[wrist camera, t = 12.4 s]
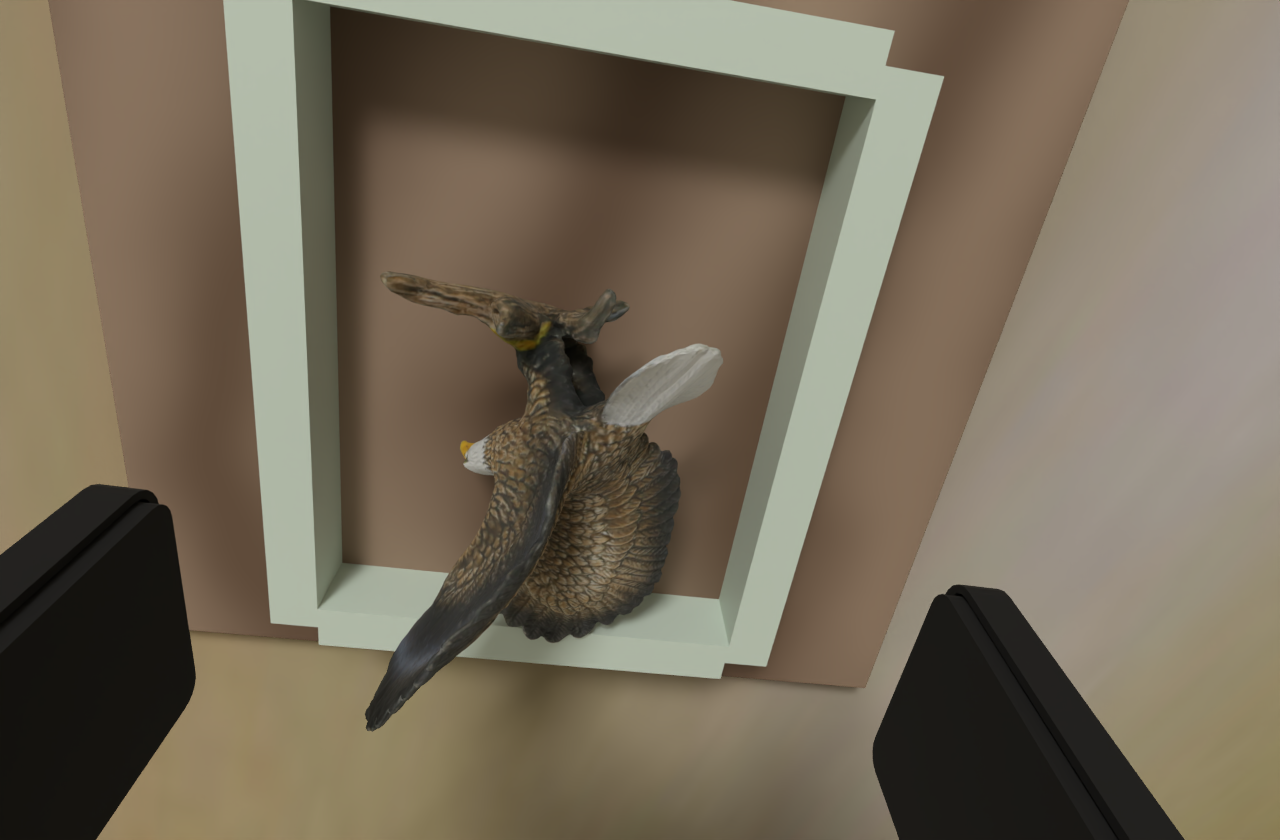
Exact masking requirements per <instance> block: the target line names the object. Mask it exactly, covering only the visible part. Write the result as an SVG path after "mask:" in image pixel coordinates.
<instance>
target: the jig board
mask: <svg viewBox="0 0 1280 840" xmlns="http://www.w3.org/2000/svg"><path fill="white" fill-rule="evenodd" d="M48 2H49V8H50V14H51V20H52V26H53V32H54V38H55V44H56V50H57V56H58V62H59V68H60V74H61V80H62V86H63V92H64V98H65V105H66V111H67V117H68V123H69V129H70V135H71V141H72V147H73V153H74V159H75V165H76V171H77V177H78V183H79V189H80V195H81V201H82V207H83V213H84V219H85V226H86V232H87V238H88V244H89V250H90V256H91V262H92V268H93V274H94V280H95V286H96V292H97V298H98V304H99V310H100V316H101V322H102V328H103V334H104V341H105V347H106V353H107V359H108V365H109V371H110V377H111V383H112V389H113V395H114V401H115V407H116V413H117V419H118V425H119V431H120V437H121V443H122V449H123V456H124V462H125V468H126V474H127V480H128V486H129V488H136V489H144V490H149V491H151V492H153V493H154V495H155V496H156V497H157V499H158V502H159V504H163V505H166V506H168V508H169V509H170V510H171V514H172V518H173V525H174V532H175V538H176V545H177V552H178V558H179V565H180V572H181V579H182V585H183V592H184V599H185V605H186V612H187V619H188V625H189V630H195V631H207V632H218V633H230V634H242V635H253V636H265V637H276V638H288V639H300V640H311V641H319V645H328V646H340V647H351V648H363V649H375V650H386V651H396V649H397V647H398V646H399V644H400V642H401V641H402V640H403V638H404V637H405V636H406V635H407V633H408V632H409V631H410V629H411V628H412V627H413V625H414V624H415V623H416V622H417V620H418V619H419V618H420V617H421V616H422V615H423V613H424V612H425V611H426V610H427V609H428V608H429V607H430V606H431V605H432V604H433V602H434V600H435V598H436V597H437V595H438V593H439V591H440V589H441V587H442V585H443V583H444V581H445V579H446V577H447V576H448V574H449V572H450V571H451V569H452V567H453V566H454V565H455V564H456V562H457V561H458V559H459V558H460V557H461V555H462V554H463V553H464V552H465V550H466V549H467V548H468V547H469V545H470V544H471V542H472V541H473V539H474V538H475V536H476V534H477V532H478V531H479V529H480V527H481V524H482V522H483V520H484V518H485V515H486V513H487V510H488V508H489V503H490V500H491V497H492V494H493V490H494V486H495V478H494V475H483V474H479V473H475V472H473V471H470V470H469V469H467V468H466V467H465V466H464V464H463V463H464V461H465V458H464V456H463V454H462V452H461V450H460V445H461V442H462V441H467V442H468V443H476V442H478V441H480V440H482V439H484V438H485V437H486V436H488V435H489V434H490V433H492V432H493V431H495V429H496V428H497V427H499V426H501V425H503V424H505V423H507V422H509V421H511V420H514V419H517V418H521V417H523V415H524V414H525V409H526V405H527V390H528V383H527V379H526V378H525V377H524V375H523V374H522V372H521V371H520V370H519V368H518V366H517V357H516V351H515V348H514V347H513V346H511V345H510V344H508V343H506V342H504V341H503V340H502V339H501V338H500V337H499V336H497V335H496V334H495V333H494V332H493V331H492V330H491V329H490V328H489V327H488V326H487V325H486V324H484V323H482V322H481V321H480V320H478V319H477V318H475V317H472V316H468V315H455V314H453V313H450V312H448V311H446V310H443V309H440V308H433V307H430V306H424V305H420V304H416V303H413V302H411V301H408V300H406V299H405V298H403V297H401V296H399V295H397V294H395V293H392V292H391V291H390V290H389V289H387V288H386V287H385V286H384V284H383V283H382V281H381V279H380V275H381V274H382V273H383V272H386V271H391V272H397V273H404V274H410V275H416V276H420V277H423V278H427V279H431V280H436V281H441V282H447V283H453V284H461V285H468V286H473V287H479V288H486V289H491V290H495V291H499V292H503V293H506V294H510V295H513V296H516V297H519V298H522V299H526V300H530V301H536V302H540V303H545V304H549V305H552V306H555V307H557V308H560V309H563V310H566V311H573V310H577V309H584V308H586V307H588V306H594V305H595V303H596V302H597V300H598V299H599V297H600V296H601V295H602V294H603V292H604V291H605V290H606V289H612V290H613V291H614V292H615V294H616V300H621V301H624V302H626V303H628V304H629V305H630V308H629V310H628V311H627V312H626V313H625V314H624V315H623V316H621V317H620V318H619V319H617V320H615V321H613V322H606V323H604V325H603V326H602V328H601V330H600V333H599V337H598V339H597V341H596V342H594V343H592V344H585V343H581V342H578V343H579V344H582V345H585V346H586V350H587V355H588V356H589V357H591V358H592V360H593V372H594V374H595V377H596V380H597V383H598V385H599V387H600V390H601V391H602V392H603V393H604V394H605V400H606V399H608V398H609V397H610V395H611V393H612V392H613V391H614V390H615V389H616V388H617V387H618V386H619V385H620V384H621V383H622V382H623V381H624V380H625V379H626V378H628V377H629V376H630V375H632V374H633V373H634V372H636V371H637V370H638V369H640V368H641V367H642V366H644V365H645V364H647V363H648V362H650V361H651V360H653V359H654V358H656V357H658V356H661V355H666V354H669V353H671V352H673V351H675V350H678V349H683V348H686V347H688V346H690V345H693V344H703V345H707V346H709V347H713V348H717V349H719V350H720V351H721V357H722V358H723V364H722V365H721V366H720V367H719V369H718V371H717V375H716V377H715V379H714V382H713V384H712V386H711V387H710V388H709V389H708V390H707V391H705V392H704V393H702V394H701V395H700V396H698V397H697V398H694V399H692V400H689V401H686V402H684V403H680V404H677V405H675V406H672V407H670V408H668V409H666V410H664V411H662V412H660V413H659V414H658V415H656V416H655V417H654V418H653V419H652V420H651V421H650V422H649V424H648V426H647V427H646V429H645V431H644V433H646V434H647V436H648V438H649V443H651V442H655V443H657V444H658V445H659V447H660V449H661V451H664V450H669V451H670V452H671V454H672V458H675V459H676V460H677V462H678V468H677V474H678V475H679V477H680V482H681V483H680V490H681V497H680V499H679V502H678V504H679V507H678V510H677V512H676V513H675V515H674V516H673V519H674V527H673V530H672V532H671V539H670V542H669V544H668V545H666V547H667V549H668V555H667V557H666V559H665V564H664V566H663V567H662V568H661V572H662V575H661V578H660V580H659V582H657V583H655V585H654V589H653V591H652V593H651V594H650V595H647V596H645V597H644V599H643V601H642V602H641V604H640V605H639V606H637V607H635V608H633V610H632V612H631V613H629V614H626V615H617V617H616V618H615V619H614V621H613V623H611V624H609V625H603V624H601V623H600V622H597V623H596V624H595V626H594V628H593V629H592V630H591V631H590V632H589V633H588V634H587V635H586V636H584V637H582V638H575V637H573V636H572V635H568V636H566V637H565V638H563V639H562V640H561V641H560V642H556V643H550V642H547V641H546V640H545V638H543V637H542V636H541V637H539V638H538V639H535V640H530V639H528V638H527V637H526V636H525V634H524V633H523V628H522V626H520V627H509V626H508V625H507V624H506V622H505V619H504V616H503V614H499V615H498V616H497V618H496V619H495V621H494V622H493V623H492V624H491V625H490V627H489V628H488V629H487V630H485V631H484V632H483V633H482V634H481V636H480V637H479V638H478V639H477V640H476V641H475V642H473V643H472V644H471V645H470V646H469V647H468V648H466V649H465V650H463V651H462V652H461V653H460V654H459V655H457V657H468V658H480V659H492V660H504V661H515V662H527V663H539V664H550V665H562V666H574V667H586V668H597V669H609V670H621V671H632V672H644V673H656V674H667V675H679V676H691V677H703V678H714V679H720V678H721V676H731V677H742V678H754V679H765V680H777V681H789V682H800V683H812V684H824V685H835V686H847V687H859V688H865V687H866V684H867V682H868V679H869V677H870V674H871V671H872V669H873V666H874V664H875V661H876V658H877V656H878V653H879V650H880V648H881V645H882V643H883V640H884V637H885V635H886V632H887V630H888V627H889V624H890V622H891V619H892V617H893V614H894V611H895V609H896V606H897V604H898V601H899V598H900V596H901V593H902V591H903V588H904V585H905V583H906V580H907V578H908V575H909V572H910V570H911V567H912V565H913V562H914V559H915V557H916V554H917V552H918V549H919V546H920V544H921V541H922V538H923V536H924V533H925V531H926V528H927V525H928V523H929V520H930V518H931V515H932V512H933V510H934V507H935V505H936V502H937V499H938V497H939V494H940V492H941V489H942V486H943V484H944V481H945V479H946V476H947V473H948V471H949V468H950V466H951V463H952V460H953V458H954V455H955V453H956V450H957V447H958V445H959V442H960V440H961V437H962V434H963V432H964V429H965V426H966V424H967V421H968V419H969V416H970V413H971V411H972V408H973V406H974V403H975V400H976V398H977V395H978V393H979V390H980V387H981V385H982V382H983V380H984V377H985V374H986V372H987V369H988V367H989V364H990V361H991V359H992V356H993V354H994V351H995V348H996V346H997V343H998V341H999V338H1000V335H1001V333H1002V330H1003V328H1004V325H1005V322H1006V320H1007V317H1008V314H1009V312H1010V309H1011V307H1012V304H1013V301H1014V299H1015V296H1016V294H1017V291H1018V288H1019V286H1020V283H1021V281H1022V278H1023V275H1024V273H1025V270H1026V268H1027V265H1028V262H1029V260H1030V257H1031V255H1032V252H1033V249H1034V247H1035V244H1036V242H1037V239H1038V236H1039V234H1040V231H1041V229H1042V226H1043V223H1044V221H1045V218H1046V216H1047V213H1048V210H1049V208H1050V205H1051V202H1052V200H1053V197H1054V195H1055V192H1056V189H1057V187H1058V184H1059V182H1060V179H1061V176H1062V174H1063V171H1064V169H1065V166H1066V163H1067V161H1068V158H1069V156H1070V153H1071V150H1072V148H1073V145H1074V143H1075V140H1076V137H1077V135H1078V132H1079V130H1080V127H1081V124H1082V122H1083V119H1084V117H1085V114H1086V111H1087V109H1088V106H1089V104H1090V101H1091V98H1092V96H1093V93H1094V90H1095V88H1096V85H1097V83H1098V80H1099V77H1100V75H1101V72H1102V70H1103V67H1104V64H1105V62H1106V59H1107V57H1108V54H1109V51H1110V49H1111V46H1112V44H1113V41H1114V38H1115V36H1116V33H1117V31H1118V28H1119V25H1120V23H1121V20H1122V18H1123V15H1124V12H1125V10H1126V7H1127V5H1128V2H1129V0H48Z"/></svg>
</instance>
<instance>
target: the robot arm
mask: <svg viewBox="0 0 1280 840" xmlns="http://www.w3.org/2000/svg"><path fill="white" fill-rule="evenodd" d="M195 679H196V674H195V666H194V659H193V652H192V646H191V639H190V632H189V625H188V619H187V612H186V605H185V599H184V592H183V585H182V579H181V572H180V565H179V558H178V552H177V545H176V538H175V532H174V525H173V518H172V514H171V510H170V509H169V508H168V506H166V505H163V504H159V502H158V499H157V497H156V496H155V495H154V493H153V492H151V491H149V490H144V489H136V488H127V487H119V486H110V485H101V484H96V485H90V486H89V487H87V488H85V489H83V490H82V491H81V492H79V493H78V494H77V495H76V496H74V497H73V498H72V499H71V500H69V501H68V502H67V503H66V504H64V505H63V506H62V507H60V508H59V509H58V510H57V511H55V512H54V513H53V514H52V515H50V516H49V517H48V518H47V519H45V520H44V521H43V522H41V523H40V524H39V525H38V526H36V527H35V528H34V529H33V530H31V531H30V532H29V533H28V534H26V535H25V536H24V537H23V538H21V539H20V540H19V541H17V542H16V543H15V544H14V545H12V546H11V547H10V548H9V549H7V550H6V551H5V552H4V553H2V554H1V555H0V840H96V839H97V837H98V836H99V834H100V833H101V831H102V830H103V828H104V827H105V825H106V824H107V822H108V821H109V820H110V818H111V817H112V815H113V814H114V812H115V811H116V809H117V808H118V806H119V805H120V803H121V802H122V800H123V799H124V797H125V796H126V795H127V793H128V792H129V790H130V789H131V787H132V786H133V784H134V783H135V781H136V780H137V778H138V777H139V775H140V774H141V772H142V771H143V770H144V768H145V767H146V765H147V764H148V762H149V761H150V759H151V758H152V756H153V755H154V753H155V752H156V750H157V749H158V747H159V746H160V745H161V743H162V742H163V740H164V739H165V737H166V736H167V734H168V733H169V731H170V730H171V728H172V727H173V725H174V724H175V722H176V721H177V720H178V718H179V717H180V715H181V714H182V712H183V711H184V709H185V708H186V706H187V704H188V702H189V700H190V698H191V696H192V693H193V690H194V686H195ZM873 764H874V768H875V772H876V775H877V778H878V780H879V783H880V786H881V789H882V792H883V795H884V797H885V800H886V803H887V806H888V809H889V812H890V814H891V817H892V820H893V823H894V826H895V829H896V831H897V834H898V837H899V840H1184V838H1183V837H1182V835H1181V834H1180V833H1179V831H1178V830H1177V829H1176V827H1175V826H1174V824H1173V823H1172V822H1171V820H1170V819H1169V817H1168V816H1167V815H1166V813H1165V812H1164V810H1163V809H1162V808H1161V806H1160V805H1159V804H1158V802H1157V801H1156V799H1155V798H1154V797H1153V795H1152V794H1151V792H1150V791H1149V790H1148V788H1147V787H1146V785H1145V784H1144V783H1143V781H1142V780H1141V779H1140V777H1139V776H1138V774H1137V773H1136V772H1135V770H1134V769H1133V767H1132V766H1131V765H1130V763H1129V762H1128V761H1127V759H1126V758H1125V756H1124V755H1123V754H1122V752H1121V751H1120V749H1119V748H1118V747H1117V745H1116V744H1115V742H1114V741H1113V740H1112V738H1111V737H1110V736H1109V734H1108V733H1107V731H1106V730H1105V729H1104V727H1103V726H1102V724H1101V723H1100V722H1099V720H1098V719H1097V717H1096V716H1095V715H1094V713H1093V712H1092V711H1091V709H1090V708H1089V706H1088V705H1087V704H1086V702H1085V701H1084V699H1083V698H1082V697H1081V695H1080V694H1079V692H1078V691H1077V690H1076V688H1075V687H1074V686H1073V684H1072V683H1071V681H1070V680H1069V679H1068V677H1067V676H1066V674H1065V673H1064V672H1063V670H1062V669H1061V667H1060V666H1059V665H1058V663H1057V662H1056V661H1055V659H1054V658H1053V656H1052V655H1051V654H1050V652H1049V651H1048V649H1047V648H1046V647H1045V645H1044V644H1043V643H1042V641H1041V640H1040V638H1039V637H1038V636H1037V634H1036V633H1035V631H1034V630H1033V629H1032V627H1031V626H1030V624H1029V623H1028V622H1027V620H1026V619H1025V618H1024V616H1023V615H1022V613H1021V612H1020V611H1019V609H1018V608H1017V606H1016V605H1015V604H1014V602H1013V601H1012V599H1011V598H1010V597H1009V596H1008V595H1007V594H1006V593H1005V592H1004V591H1002V590H999V589H993V588H984V587H976V586H967V585H953V586H952V587H951V588H950V589H948V591H947V592H946V594H941V595H938V596H937V597H935V599H934V600H933V602H932V604H931V606H930V609H929V611H928V613H927V616H926V618H925V621H924V623H923V625H922V628H921V630H920V632H919V635H918V637H917V640H916V642H915V644H914V647H913V649H912V651H911V654H910V656H909V659H908V661H907V663H906V666H905V668H904V670H903V673H902V675H901V678H900V680H899V682H898V685H897V687H896V689H895V692H894V694H893V697H892V699H891V701H890V704H889V706H888V708H887V711H886V713H885V716H884V718H883V720H882V723H881V725H880V727H879V730H878V732H877V735H876V737H875V740H874V743H873Z"/></svg>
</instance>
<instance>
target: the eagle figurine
mask: <svg viewBox="0 0 1280 840" xmlns="http://www.w3.org/2000/svg"><path fill="white" fill-rule="evenodd" d="M380 279H381V281H382V283H383V284H384V286H385V287H386V288H387V289H389V290H390V291H391V292H392V293H395V294H397V295H399V296H401V297H403V298H405V299H406V300H408V301H411V302H413V303H416V304H420V305H424V306H430V307H433V308H440V309H443V310H446V311H448V312H450V313H453V314H455V315H468V316H472V317H475V318H477V319H478V320H480V321H481V322H482V323H484V324H486V325H487V326H488V327H489V328H490V329H491V330H492V331H493V332H494V333H495V334H496V335H497V336H499V337H500V338H501V339H502V340H503V341H504V342H506V343H508V344H510V345H511V346H513V347H514V348H515V351H516V357H517V366H518V368H519V370H520V371H521V372H522V374H523V375H524V377H525V378H526V379H527V383H528V390H527V405H526V409H525V414H524V415H523V417H521V418H517V419H514V420H511V421H509V422H507V423H505V424H503V425H501V426H499V427H497V428H496V429H495V431H493V432H492V433H490V434H489V435H488V436H486V437H485V438H484V439H482V440H480V441H478V442H476V443H468V442H467V441H462V442H461V445H460V450H461V452H462V454H463V456H464V458H465V461H464V463H463V464H464V466H465V467H466V468H467V469H469V470H470V471H473V472H475V473H479V474H483V475H494V478H495V486H494V490H493V494H492V497H491V500H490V503H489V508H488V510H487V513H486V515H485V518H484V520H483V522H482V524H481V527H480V529H479V531H478V532H477V534H476V536H475V538H474V539H473V541H472V542H471V544H470V545H469V547H468V548H467V549H466V550H465V552H464V553H463V554H462V555H461V557H460V558H459V559H458V561H457V562H456V564H455V565H454V566H453V567H452V569H451V571H450V572H449V574H448V576H447V577H446V579H445V581H444V583H443V585H442V587H441V589H440V591H439V593H438V595H437V597H436V598H435V600H434V602H433V604H432V605H431V606H430V607H429V608H428V609H427V610H426V611H425V612H424V613H423V615H422V616H421V617H420V618H419V619H418V620H417V622H416V623H415V624H414V625H413V627H412V628H411V629H410V631H409V632H408V633H407V635H406V636H405V637H404V638H403V640H402V641H401V642H400V644H399V646H398V647H397V649H396V651H395V652H394V654H393V656H392V658H391V660H390V663H389V666H388V670H387V673H386V675H385V676H384V678H383V680H382V681H381V683H380V685H379V687H378V689H377V691H376V693H375V696H374V698H373V700H372V701H371V703H370V706H369V707H368V708H367V710H366V713H365V716H366V719H367V721H368V722H367V725H366V729H367V731H372V732H373V731H374V730H376V729H377V728H380V727H381V726H383V725H384V724H385V722H386V721H387V720H388V719H389V718H390V717H391V715H392V714H394V713H396V712H397V711H398V710H399V709H400V708H401V707H402V706H403V705H404V703H405V702H406V701H407V700H409V699H410V698H411V697H412V696H413V694H414V693H415V692H416V691H417V690H418V689H419V688H420V687H421V686H422V685H424V684H425V683H426V682H428V681H429V680H430V679H431V678H432V677H433V676H434V674H435V673H436V672H438V671H439V670H440V669H441V668H442V667H444V666H445V665H447V664H448V663H449V662H450V661H452V660H453V659H454V658H455V657H456V656H457V655H459V654H460V653H461V652H462V651H463V650H465V649H466V648H468V647H469V646H470V645H471V644H472V643H473V642H475V641H476V640H477V639H478V638H479V637H480V636H481V634H482V633H483V632H484V631H485V630H487V629H488V628H489V627H490V625H491V624H492V623H493V622H494V621H495V619H496V618H497V616H498V615H499V614H503V616H504V619H505V622H506V624H507V625H508V626H509V627H520V626H522V628H523V633H524V634H525V636H526V637H527V638H528V639H530V640H535V639H538V638H539V637H541V636H542V637H543V638H545V640H546V641H547V642H550V643H556V642H560V641H561V640H562V639H563V638H565V637H566V636H568V635H572V636H573V637H575V638H582V637H584V636H586V635H587V634H588V633H589V632H590V631H591V630H592V629H593V628H594V626H595V624H596V623H597V622H600V623H601V624H603V625H609V624H611V623H613V621H614V619H615V618H616V617H617V615H626V614H629V613H631V612H632V610H633V608H635V607H637V606H639V605H640V604H641V602H642V601H643V599H644V597H645V596H647V595H650V594H651V593H652V591H653V589H654V585H655V583H657V582H659V580H660V578H661V575H662V572H661V568H662V567H663V566H664V564H665V559H666V557H667V555H668V549H667V547H666V545H668V544H669V542H670V539H671V532H672V530H673V527H674V519H673V516H674V515H675V513H676V512H677V510H678V507H679V504H678V502H679V499H680V497H681V490H680V483H681V482H680V477H679V475H678V474H677V468H678V462H677V460H676V459H675V458H672V454H671V452H670V451H669V450H664V451H661V449H660V447H659V445H658V444H657V443H655V442H651V443H649V438H648V436H647V434H646V433H644V431H645V429H646V427H647V426H648V424H649V422H650V421H651V420H652V419H653V418H654V417H655V416H656V415H658V414H659V413H660V412H662V411H664V410H666V409H668V408H670V407H672V406H675V405H677V404H680V403H684V402H686V401H689V400H692V399H694V398H697V397H698V396H700V395H701V394H702V393H704V392H705V391H707V390H708V389H709V388H710V387H711V386H712V384H713V382H714V379H715V377H716V375H717V371H718V369H719V367H720V366H721V365H722V364H723V358H722V357H721V351H720V350H719V349H717V348H713V347H709V346H707V345H703V344H693V345H690V346H688V347H686V348H683V349H678V350H675V351H673V352H671V353H669V354H666V355H661V356H658V357H656V358H654V359H653V360H651V361H650V362H648V363H647V364H645V365H644V366H642V367H641V368H640V369H638V370H637V371H636V372H634V373H633V374H632V375H630V376H629V377H628V378H626V379H625V380H624V381H623V382H622V383H621V384H620V385H619V386H618V387H617V388H616V389H615V390H614V391H613V392H612V393H611V395H610V397H609V398H608V399H606V400H605V394H604V393H603V392H602V391H601V390H600V387H599V385H598V383H597V380H596V377H595V374H594V372H593V360H592V358H591V357H589V356H588V355H587V350H586V346H585V345H582V344H579V343H578V342H581V343H585V344H592V343H594V342H596V341H597V339H598V337H599V333H600V330H601V328H602V326H603V325H604V323H606V322H613V321H615V320H617V319H619V318H620V317H621V316H623V315H624V314H625V313H626V312H627V311H628V310H629V308H630V305H629V304H628V303H626V302H624V301H621V300H616V294H615V292H614V291H613V290H612V289H606V290H605V291H604V292H603V294H602V295H601V296H600V297H599V299H598V300H597V302H596V303H595V305H594V306H588V307H586V308H584V309H577V310H573V311H566V310H563V309H560V308H557V307H555V306H552V305H549V304H545V303H540V302H536V301H530V300H526V299H522V298H519V297H516V296H513V295H510V294H506V293H503V292H499V291H495V290H491V289H486V288H479V287H473V286H468V285H461V284H453V283H447V282H441V281H436V280H431V279H427V278H423V277H420V276H416V275H410V274H404V273H397V272H391V271H386V272H383V273H382V274H381V275H380Z"/></svg>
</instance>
